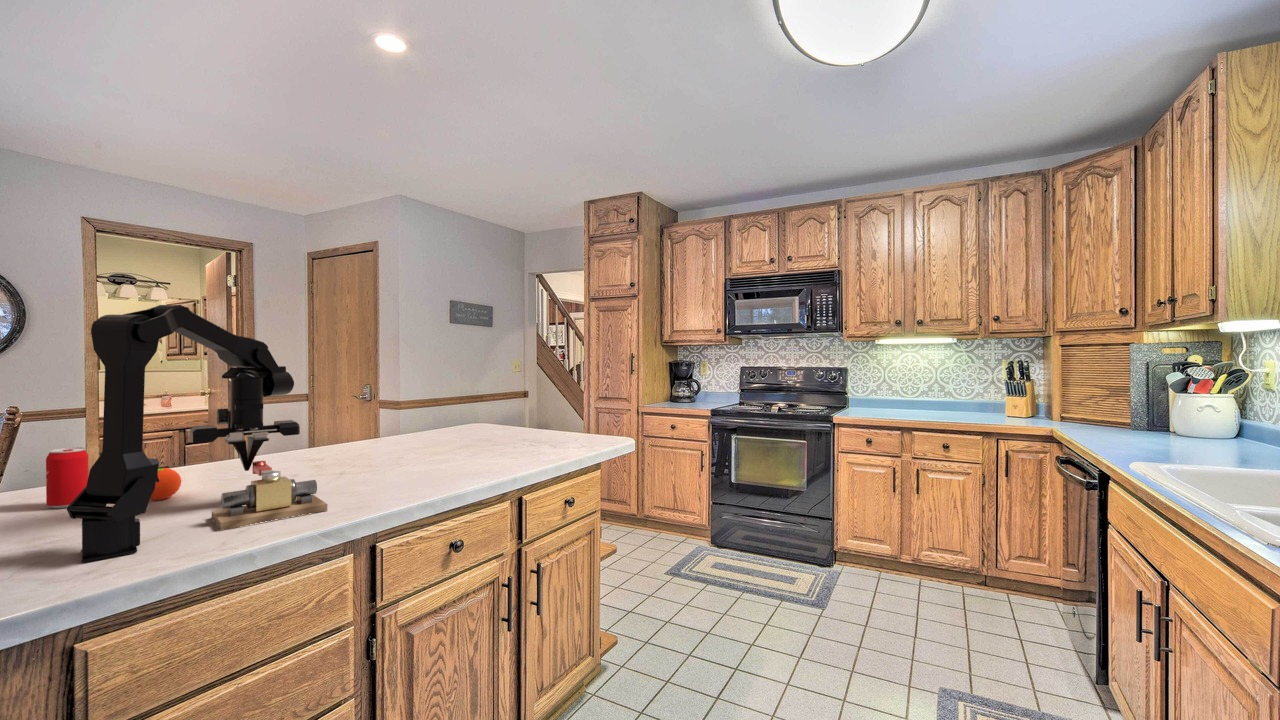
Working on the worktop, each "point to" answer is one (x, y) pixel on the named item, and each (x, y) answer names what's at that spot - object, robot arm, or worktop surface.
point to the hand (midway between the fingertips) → (246, 470)
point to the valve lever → (265, 471)
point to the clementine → (166, 484)
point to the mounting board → (266, 514)
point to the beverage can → (65, 475)
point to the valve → (268, 495)
